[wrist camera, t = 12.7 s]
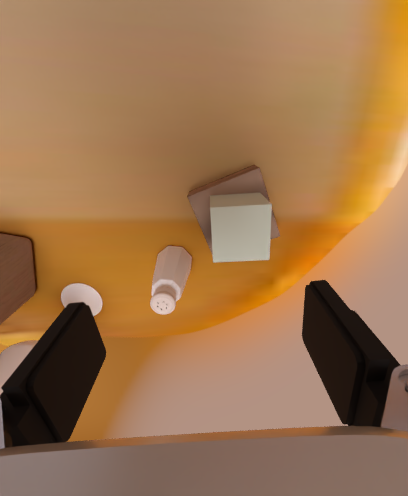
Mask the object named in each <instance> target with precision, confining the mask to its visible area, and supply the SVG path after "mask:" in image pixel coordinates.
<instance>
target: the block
mask: <svg viewBox="0 0 408 496" xmlns="http://www.w3.org/2000/svg"><path fill="white" fill-rule="evenodd" d="M35 290H36V286H35V275H34V263H33V252H32V243H31V241H30V240H29V239H28V238H24V237H19V236H13V235H7V234H2V233H0V324H1V323H3V322H4V321H5V320H6V319H7V318H8V317H9V316H10V315H12V314H13V313H14V312H15V311H16V310H17V309H18V308H20V307H21V306H22V305H23V304H24V303H25V302H26V301H28V300H29V299H30V298H31V297H32V296H33V295H34V293H35Z"/></svg>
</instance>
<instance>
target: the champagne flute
mask: <svg viewBox="0 0 408 496" xmlns="http://www.w3.org/2000/svg"><path fill="white" fill-rule="evenodd" d="M61 301H62V304H63V305H64V307H66V306H67V305H68V304H69V303H76V302H84V303H85V304H86V305H89V307H90V309H91V312H92V314H93V316H95V315H97V314H98V313H99V312H100V311H101V309H102V299H101V296H100V295H99V293H98V292H97V291H96V290H95V289H93V288H92V287H90V286H88V285H85V284H81V283H75V284H70V285H68V286H67V287H65V288H64V289H63V291H62V293H61ZM37 342H38V341H24V342H20V343H17V344H14V345H11V346H9V347H8V348H7V349H5V350H3V352H1V354H0V395H1V394H2V392H3V390H2V389H1V387H2V386H3V385H4V383H5V382H6V381H7V380H8V378H9V377H10V376H11V375H12V373H13V372H14V371H15V370H16V368H17V367H18V366H19V365H20V363H21V362H22V361H23V360H24V358H25V357H26V356H27V355H28V353H29V352H30V351H31V350H32V348H33V347H34V346H35V345H36V343H37Z"/></svg>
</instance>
